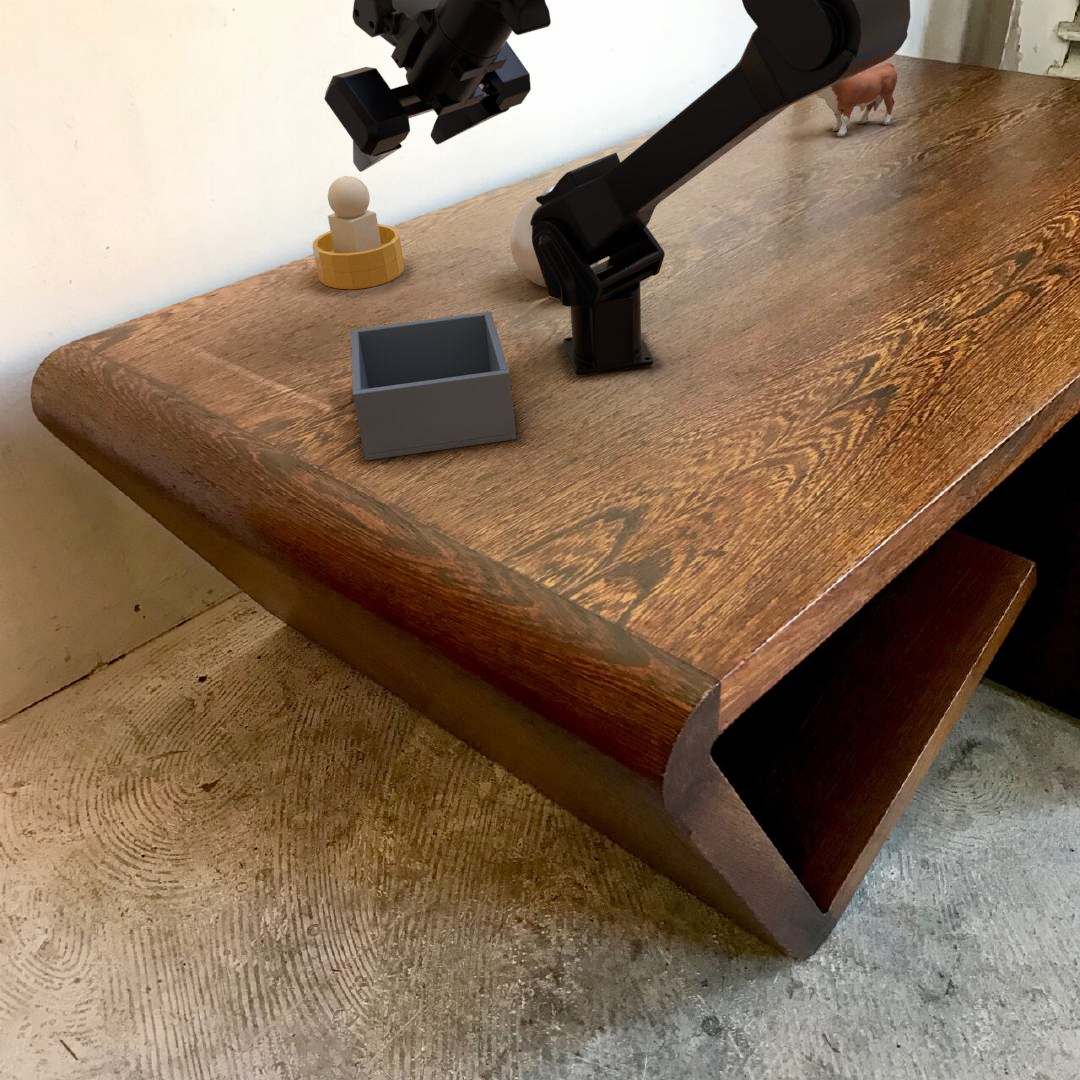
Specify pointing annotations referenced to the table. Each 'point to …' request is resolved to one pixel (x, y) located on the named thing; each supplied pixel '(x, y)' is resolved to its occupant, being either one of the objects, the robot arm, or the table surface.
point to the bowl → (359, 262)
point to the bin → (431, 385)
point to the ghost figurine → (527, 242)
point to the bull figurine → (861, 95)
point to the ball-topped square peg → (352, 217)
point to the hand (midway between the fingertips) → (397, 153)
